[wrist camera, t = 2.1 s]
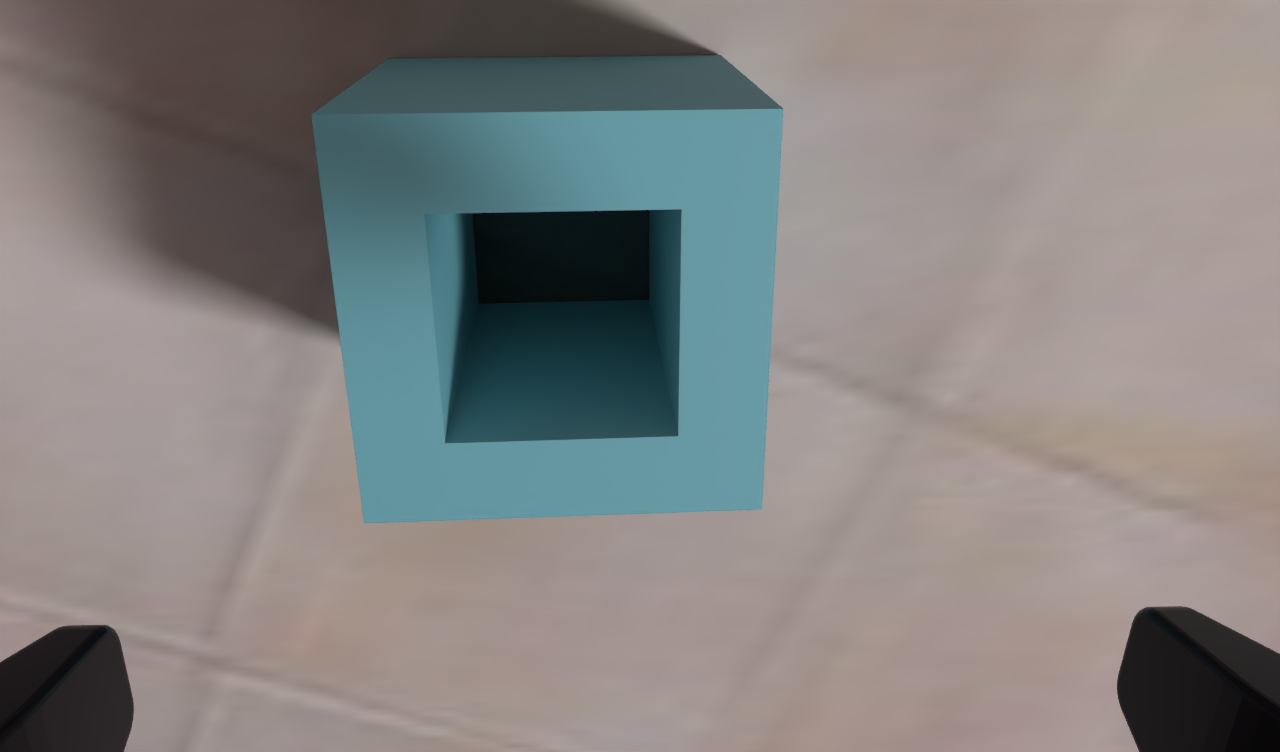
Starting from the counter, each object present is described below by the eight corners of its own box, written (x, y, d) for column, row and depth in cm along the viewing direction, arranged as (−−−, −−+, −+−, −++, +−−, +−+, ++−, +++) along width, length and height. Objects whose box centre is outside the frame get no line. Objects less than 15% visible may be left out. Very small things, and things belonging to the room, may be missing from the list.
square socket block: (418, 365, 21) (364, 523, 15) (388, 58, 18) (311, 114, 13) (711, 357, 21) (761, 509, 16) (720, 54, 19) (783, 108, 13)
